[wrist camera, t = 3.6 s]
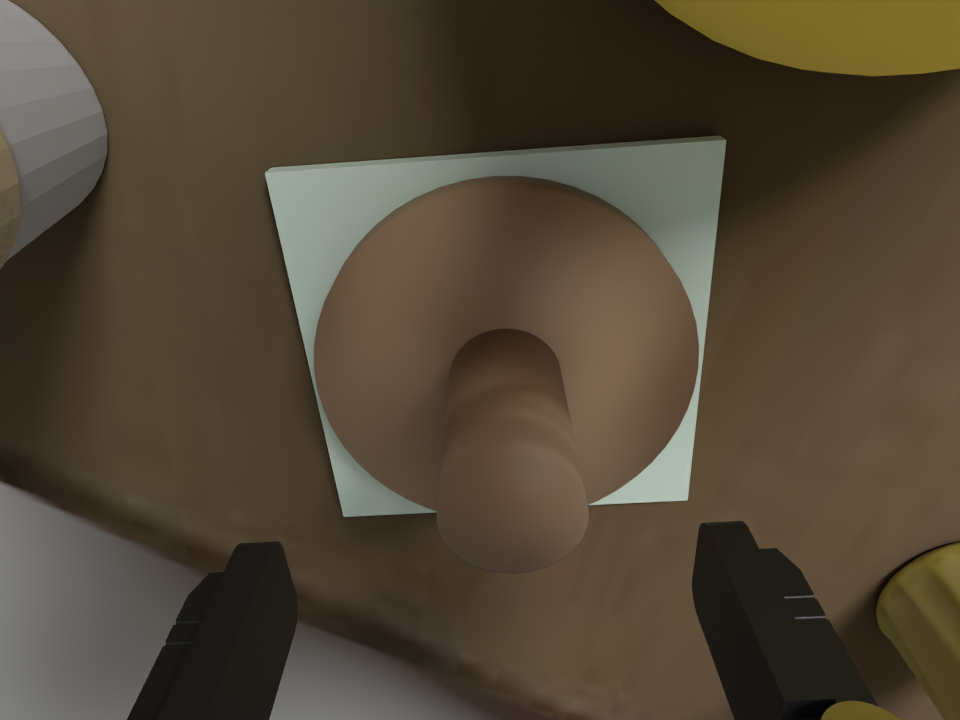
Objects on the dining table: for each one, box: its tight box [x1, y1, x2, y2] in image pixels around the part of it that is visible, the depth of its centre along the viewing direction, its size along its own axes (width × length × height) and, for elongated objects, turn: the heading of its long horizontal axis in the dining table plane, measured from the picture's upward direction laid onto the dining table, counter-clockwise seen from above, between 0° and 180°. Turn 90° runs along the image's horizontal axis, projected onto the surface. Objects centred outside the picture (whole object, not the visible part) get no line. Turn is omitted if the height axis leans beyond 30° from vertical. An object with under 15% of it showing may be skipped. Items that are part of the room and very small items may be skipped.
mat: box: [265, 136, 726, 517], centre depth 20 cm, size 12×12×1 cm
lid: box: [314, 176, 699, 573], centre depth 17 cm, size 11×11×7 cm
